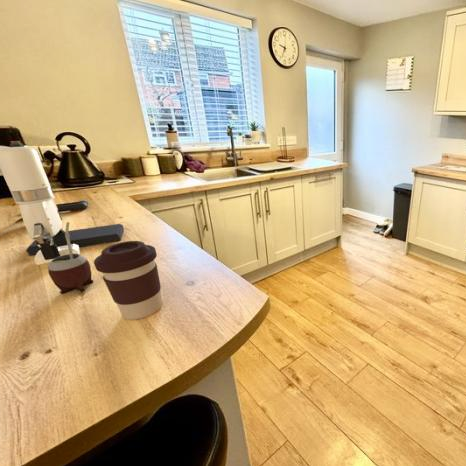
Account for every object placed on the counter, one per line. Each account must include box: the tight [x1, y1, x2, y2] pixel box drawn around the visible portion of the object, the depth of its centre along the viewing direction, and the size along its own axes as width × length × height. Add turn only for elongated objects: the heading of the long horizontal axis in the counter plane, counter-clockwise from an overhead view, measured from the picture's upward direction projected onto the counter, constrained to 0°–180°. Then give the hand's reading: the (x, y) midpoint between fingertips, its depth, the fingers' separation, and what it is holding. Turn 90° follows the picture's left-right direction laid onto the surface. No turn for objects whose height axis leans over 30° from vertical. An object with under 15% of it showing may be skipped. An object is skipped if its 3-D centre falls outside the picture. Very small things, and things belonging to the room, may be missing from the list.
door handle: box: [56, 200, 89, 214], centre depth 125 cm, size 3×20×16 cm
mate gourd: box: [47, 221, 94, 295], centre depth 68 cm, size 8×8×15 cm
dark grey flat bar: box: [26, 223, 125, 257], centre depth 95 cm, size 22×12×2 cm, turn 122°
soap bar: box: [33, 244, 81, 266], centre depth 84 cm, size 5×9×3 cm, turn 129°
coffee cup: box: [93, 240, 163, 321], centre depth 59 cm, size 10×10×15 cm
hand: (58, 252), depth 84 cm, fingers open, 9 cm apart
